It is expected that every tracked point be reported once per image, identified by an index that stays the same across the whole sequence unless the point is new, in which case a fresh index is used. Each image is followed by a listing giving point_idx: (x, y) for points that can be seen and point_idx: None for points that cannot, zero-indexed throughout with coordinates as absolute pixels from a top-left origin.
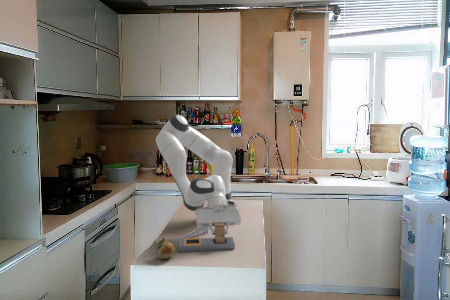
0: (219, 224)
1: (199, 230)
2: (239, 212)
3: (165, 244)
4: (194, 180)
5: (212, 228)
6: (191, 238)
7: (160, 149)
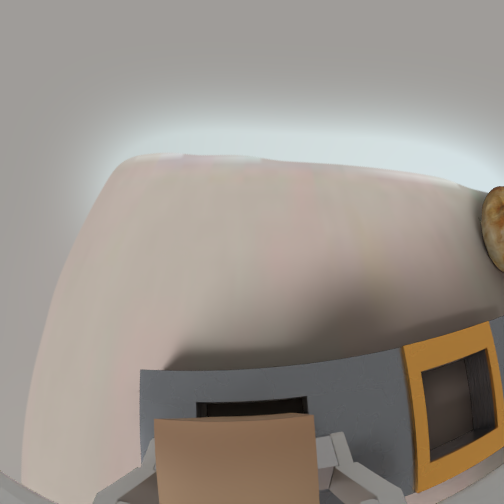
0: (236, 473)
1: None
2: None
3: None
4: None
5: (346, 472)
6: (473, 463)
7: None
